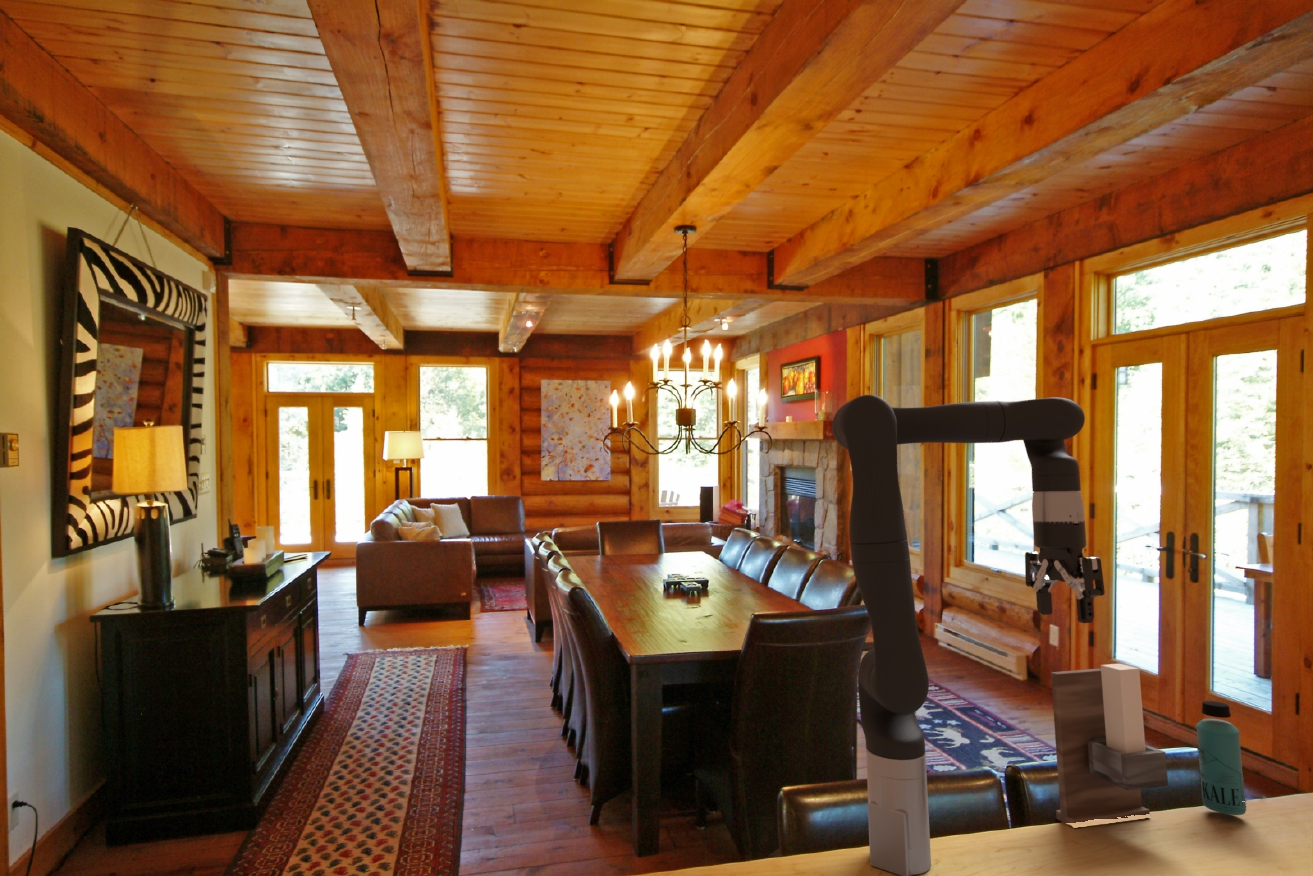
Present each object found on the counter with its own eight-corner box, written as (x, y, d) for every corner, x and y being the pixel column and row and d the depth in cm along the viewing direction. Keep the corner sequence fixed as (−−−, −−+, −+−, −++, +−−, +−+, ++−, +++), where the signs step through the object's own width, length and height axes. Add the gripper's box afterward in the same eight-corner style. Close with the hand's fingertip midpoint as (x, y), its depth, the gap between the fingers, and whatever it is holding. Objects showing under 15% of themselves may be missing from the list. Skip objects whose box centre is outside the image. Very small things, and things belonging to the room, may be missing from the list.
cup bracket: (1192, 839, 119) (1179, 680, 122) (1112, 850, 116) (1100, 687, 118) (1130, 809, 131) (1119, 665, 133) (1056, 819, 128) (1046, 671, 130)
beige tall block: (1147, 776, 121) (1139, 668, 123) (1128, 779, 120) (1119, 670, 122) (1127, 768, 125) (1119, 663, 126) (1108, 770, 124) (1100, 665, 126)
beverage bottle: (1231, 809, 130) (1221, 697, 132) (1258, 825, 124) (1247, 707, 126) (1193, 808, 131) (1184, 697, 133) (1218, 824, 124) (1208, 707, 126)
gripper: (1008, 518, 124) (1014, 613, 122) (1072, 520, 110) (1079, 627, 108) (1045, 517, 125) (1052, 611, 124) (1113, 519, 111) (1120, 624, 110)
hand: (1064, 618), depth 116 cm, fingers open, 8 cm apart
